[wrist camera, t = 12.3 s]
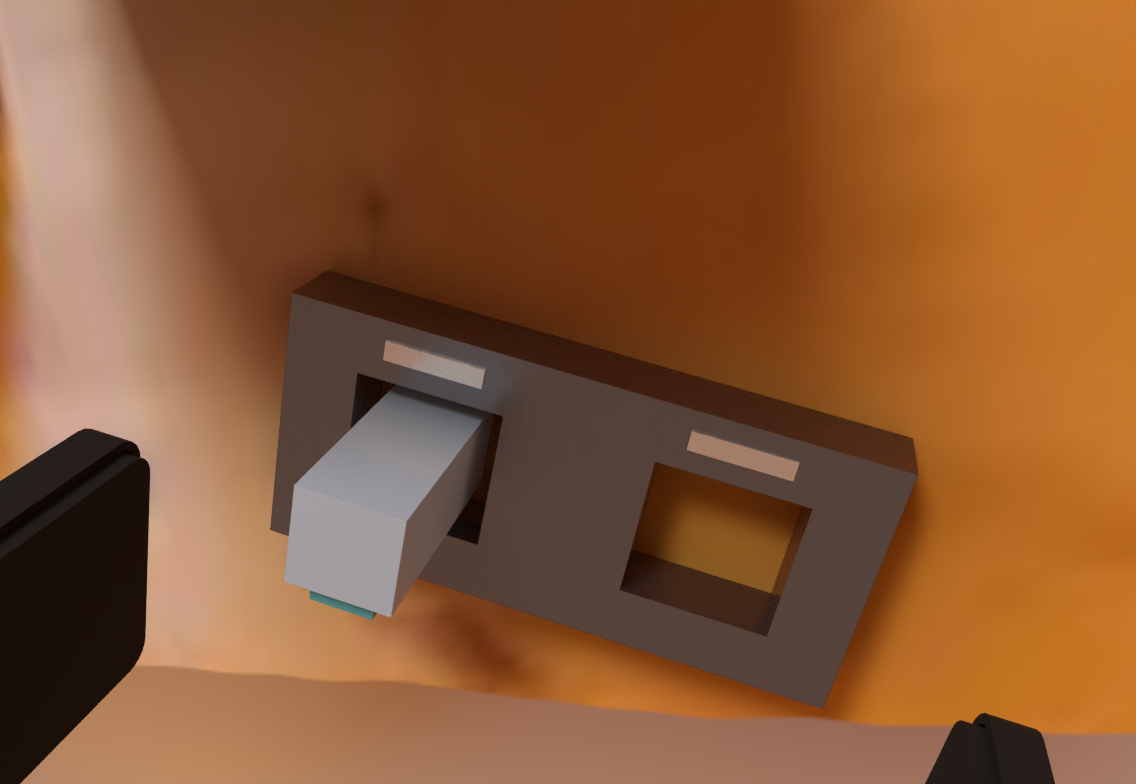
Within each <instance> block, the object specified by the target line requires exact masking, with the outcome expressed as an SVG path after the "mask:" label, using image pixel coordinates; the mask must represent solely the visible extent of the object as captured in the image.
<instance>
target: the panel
mask: <svg viewBox="0 0 1136 784" xmlns="http://www.w3.org/2000/svg"><path fill="white" fill-rule="evenodd" d="M383 381H386V382H390V383H393V384H396V385H400V386H403V387H406V388H410V389H413V390H416V391H420V392H423V393H426V394H430V395H433V396H437V397H440V398H443V399H447V400H450V401H453V402H457V403H460V404H463V405H467V406H470V407H473V408H477V409H480V410H483V411H487V412H490V413H493V414H497V415H500V416H503V420H502V425H501V430H500V435H499V440H498V445H497V450H496V455H495V460H494V465H493V471H492V476H491V481H490V486H489V491H488V496H487V501H486V505H485V504H482V503H478V502H475V501H472V500H469V501H468V503H467V504H466V506H465V507H464V509H463V510H462V512H461V513H460V515H459V516H458V518H457V519H456V521H455V522H454V524H453V525H452V527H451V528H450V530H449V531H448V533H447V534H446V536H445V537H444V539H443V540H442V542H441V543H440V545H439V546H438V548H437V549H436V551H435V552H434V554H433V555H432V557H431V558H430V560H429V561H428V563H427V564H426V566H425V567H424V569H423V570H422V572H421V573H420V575H419V576H418V578H420V579H423V580H426V581H429V582H432V583H436V584H439V585H442V586H445V587H448V588H451V589H454V590H457V591H460V592H463V593H466V594H469V595H473V596H476V597H479V598H482V599H485V600H488V601H491V602H494V603H497V604H500V605H503V606H506V607H510V608H513V609H516V610H519V611H522V612H525V613H528V614H531V615H534V616H537V617H540V618H543V619H547V620H550V621H553V622H556V623H559V624H562V625H565V626H568V627H571V628H574V629H577V630H581V631H584V632H587V633H590V634H593V635H596V636H599V637H602V638H605V639H608V640H611V641H614V642H618V643H621V644H624V645H627V646H630V647H633V648H636V649H639V650H642V651H645V652H648V653H651V654H655V655H658V656H661V657H664V658H667V659H670V660H673V661H676V662H679V663H682V664H685V665H688V666H692V667H695V668H698V669H701V670H704V671H707V672H710V673H713V674H716V675H719V676H722V677H725V678H729V679H732V680H735V681H738V682H741V683H744V684H747V685H750V686H753V687H756V688H759V689H763V690H766V691H769V692H772V693H775V694H778V695H781V696H784V697H787V698H790V699H793V700H796V701H800V702H803V703H806V704H809V705H812V706H815V707H818V708H821V709H823V707H824V705H825V702H826V700H827V697H828V695H829V692H830V690H831V687H832V685H833V683H834V680H835V678H836V675H837V673H838V670H839V668H840V665H841V663H842V660H843V658H844V656H845V653H846V651H847V648H848V646H849V643H850V641H851V638H852V636H853V634H854V631H855V629H856V626H857V624H858V621H859V619H860V616H861V614H862V612H863V609H864V607H865V604H866V602H867V599H868V597H869V594H870V592H871V589H872V587H873V585H874V582H875V580H876V577H877V575H878V572H879V570H880V567H881V565H882V563H883V560H884V558H885V555H886V553H887V550H888V548H889V545H890V543H891V541H892V538H893V536H894V533H895V531H896V528H897V526H898V523H899V521H900V518H901V516H902V514H903V511H904V509H905V506H906V504H907V501H908V499H909V496H910V494H911V492H912V489H913V487H914V484H915V482H916V479H917V477H918V470H917V463H916V456H915V449H914V443H913V439H912V438H909V437H905V436H902V435H898V434H895V433H891V432H888V431H884V430H881V429H877V428H874V427H870V426H867V425H863V424H860V423H857V422H853V421H850V420H846V419H843V418H839V417H836V416H832V415H829V414H825V413H822V412H818V411H815V410H811V409H808V408H804V407H801V406H797V405H794V404H790V403H787V402H783V401H780V400H776V399H773V398H769V397H766V396H762V395H759V394H755V393H752V392H748V391H745V390H741V389H738V388H734V387H731V386H727V385H724V384H720V383H717V382H713V381H710V380H706V379H703V378H699V377H696V376H692V375H689V374H685V373H682V372H678V371H675V370H671V369H668V368H664V367H661V366H657V365H654V364H650V363H647V362H643V361H640V360H637V359H633V358H630V357H626V356H623V355H619V354H616V353H612V352H609V351H605V350H602V349H598V348H595V347H591V346H588V345H584V344H581V343H577V342H574V341H570V340H567V339H563V338H560V337H556V336H553V335H549V334H546V333H542V332H539V331H535V330H532V329H528V328H525V327H521V326H518V325H514V324H511V323H507V322H504V321H500V320H497V319H493V318H490V317H486V316H483V315H479V314H476V313H472V312H469V311H465V310H462V309H458V308H455V307H451V306H448V305H444V304H441V303H437V302H434V301H430V300H427V299H424V298H420V297H417V296H413V295H410V294H406V293H403V292H399V291H396V290H392V289H389V288H385V287H382V286H378V285H375V284H371V283H368V282H364V281H361V280H357V279H354V278H350V277H347V276H343V275H340V274H336V273H333V272H329V271H326V272H324V273H322V274H321V275H319V276H318V277H316V278H314V279H313V280H311V281H310V282H308V283H307V284H305V285H303V286H302V287H300V288H299V289H297V290H296V291H294V292H292V297H291V308H290V319H289V330H288V341H287V352H286V363H285V374H284V385H283V396H282V407H281V418H280V429H279V440H278V451H277V462H276V473H275V484H274V495H273V506H272V517H271V528H270V530H272V531H275V532H278V533H281V534H284V535H287V536H289V529H290V520H291V511H292V501H293V492H294V485H295V484H296V483H297V482H298V481H299V480H300V479H301V478H302V477H303V476H304V475H305V474H306V473H307V472H308V471H309V470H310V469H311V468H312V467H313V466H314V465H315V464H316V463H317V462H318V461H319V460H320V459H321V458H322V457H323V456H324V455H325V454H326V453H327V452H328V451H329V450H330V449H331V448H332V447H333V446H334V445H335V444H336V443H337V442H338V441H339V440H340V439H341V438H342V437H343V436H344V435H345V434H346V433H347V432H348V431H349V430H350V429H351V428H352V427H353V426H354V425H355V424H356V423H357V422H358V421H359V420H360V419H361V418H362V417H363V416H365V415H366V414H367V413H368V412H369V411H370V410H371V409H372V408H373V407H374V406H375V405H376V404H377V403H378V402H379V401H380V397H381V390H382V383H383ZM657 463H661V464H664V465H667V466H671V467H674V468H677V469H681V470H684V471H687V472H691V473H694V474H697V475H701V476H704V477H707V478H711V479H714V480H717V481H721V482H724V483H727V484H731V485H734V486H738V487H741V488H744V489H748V490H751V491H754V492H758V493H761V494H764V495H768V496H771V497H774V498H778V499H781V500H784V501H788V502H791V503H794V504H798V505H801V506H802V509H801V512H800V515H799V517H798V520H797V523H796V526H795V529H794V531H793V534H792V537H791V540H790V543H789V545H788V548H787V551H786V554H785V557H784V559H783V562H782V565H781V568H780V571H779V573H778V576H777V579H776V582H775V585H774V587H773V590H772V593H767V592H764V591H761V590H758V589H755V588H751V587H748V586H745V585H742V584H738V583H735V582H732V581H729V580H726V579H722V578H719V577H716V576H713V575H710V574H706V573H703V572H700V571H697V570H694V569H690V568H687V567H684V566H681V565H677V564H674V563H671V562H668V561H665V560H661V559H658V558H655V557H652V556H649V555H645V554H642V553H639V552H636V551H633V549H634V545H635V542H636V538H637V534H638V531H639V527H640V524H641V520H642V516H643V513H644V509H645V506H646V502H647V498H648V495H649V491H650V488H651V484H652V480H653V477H654V473H655V470H656V466H657Z"/></svg>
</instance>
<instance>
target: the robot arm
mask: <svg viewBox="0 0 1136 784" xmlns="http://www.w3.org/2000/svg"><path fill="white" fill-rule="evenodd" d="M149 491H150V467H149V464H148V462H147V461H146V460H145V459H143V458H140V451H139V449H138V447H137V445H136V444H134V443H133V442H131V441H128V440H125V439H122V438H118V437H115V436H112V435H109V434H106V433H103V432H100V431H96V430H93V429H83V430H81V431H78V432H76V433H75V434H73V435H72V436H70V437H69V438H67V439H65V440H64V441H62V442H61V443H59V444H58V445H56V446H54V447H53V448H51V449H50V450H48V451H47V452H45V453H43V454H42V455H40V456H39V457H37V458H36V459H34V460H33V461H31V462H29V463H28V464H26V465H25V466H23V467H22V468H20V469H18V470H17V471H15V472H14V473H12V474H11V475H9V476H7V477H6V478H4V479H3V480H1V481H0V784H20V783H21V782H22V781H23V780H24V779H25V778H26V777H27V776H28V775H29V774H30V773H31V772H32V771H33V770H34V769H35V768H36V767H37V766H38V765H39V764H40V763H41V762H42V761H43V760H44V759H45V758H46V756H48V754H50V752H52V750H53V749H54V748H55V747H56V746H57V745H58V744H59V743H60V742H61V741H62V740H63V739H64V738H65V737H66V736H67V735H68V734H69V733H70V732H71V731H72V730H73V729H74V728H75V727H76V726H77V725H78V724H79V723H80V722H81V721H82V720H83V719H84V718H85V717H86V716H87V715H88V714H89V713H90V711H92V710H93V709H94V708H95V707H96V706H97V704H98V703H99V702H100V701H101V700H102V699H103V698H104V697H105V696H106V695H107V694H108V693H109V692H110V691H111V690H112V689H113V688H114V687H115V686H116V685H117V684H118V683H119V682H120V681H121V680H122V678H124V677H125V676H126V675H127V674H128V673H129V672H130V671H131V669H132V668H133V667H134V666H135V664H136V662H137V661H138V659H139V657H140V655H141V653H142V650H143V647H144V643H145V630H146V595H147V560H148V526H149ZM925 784H1055V782H1054V778H1053V774H1052V770H1051V766H1050V763H1049V758H1048V755H1047V750H1046V747H1045V743H1044V739H1043V737H1042V735H1041V733H1040V732H1039V731H1038V730H1036V729H1033V728H1030V727H1027V726H1024V725H1021V724H1018V723H1014V722H1011V721H1008V720H1005V719H1002V718H999V717H996V716H992V715H989V714H986V713H983V714H980V715H979V716H978V717H977V718H976V719H975V720H974V722H973V724H971V723H968V722H965V721H962V720H960V721H958V722H957V723H955V725H954V726H953V728H952V730H951V732H950V734H949V736H948V738H947V740H946V742H945V744H944V746H943V748H942V750H941V753H940V754H939V756H938V759H937V761H936V763H935V765H934V767H933V769H932V771H931V773H930V775H929V777H928V779H927V781H926V783H925Z"/></svg>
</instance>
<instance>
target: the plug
mask: <svg viewBox="0 0 1136 784" xmlns="http://www.w3.org/2000/svg"><path fill="white" fill-rule="evenodd" d="M494 416H495V414H493V413H490V412H487V411H483V410H480V409H477V408H473V407H470V406H467V405H463V404H460V403H457V402H453V401H450V400H447V399H443V398H440V397H437V396H433V395H430V394H426V393H423V392H420V391H416V390H413V389H410V388H406V387H403V386H400V385H395V386H394V387H393V388H392V389H391V390H390V391H389V392H388V393H387V394H386V395H385V396H384V397H383V398H382V399H381V400H380V401H379V402H378V403H377V404H376V405H375V406H374V407H373V408H372V409H371V410H370V411H369V412H368V413H367V414H366V415H365V416H363V417H362V418H361V419H360V420H359V421H358V422H357V423H356V424H355V425H354V426H353V427H352V428H351V429H350V430H349V431H348V432H347V433H346V434H345V435H344V436H343V437H342V438H341V439H340V440H339V441H338V442H337V443H336V444H335V445H334V446H333V447H332V448H331V449H330V450H329V451H328V452H327V453H326V454H325V455H324V456H323V457H322V458H321V459H320V460H319V461H318V462H317V463H316V464H315V465H314V466H313V467H312V468H311V469H310V470H309V471H308V472H307V473H306V474H305V475H304V476H303V477H302V478H301V479H300V480H299V481H298V482H297V483H296V484H295V485H294V492H293V501H292V511H291V520H290V529H289V539H288V548H287V558H286V567H285V577H284V582H287V583H290V584H293V585H296V586H299V587H302V588H305V589H308V590H310V599H312V600H314V601H317V602H320V603H323V604H326V605H329V606H332V607H335V608H338V609H341V610H344V611H347V612H350V613H353V614H356V615H359V616H362V617H365V618H368V619H371V620H373V618H374V617H375V615H376V614H377V613H379V614H382V615H385V616H388V617H391V616H392V615H393V613H394V612H395V610H396V609H397V607H398V606H399V604H400V603H401V601H402V600H403V598H404V597H405V595H406V594H407V592H408V591H409V589H410V588H411V587H412V585H413V584H414V582H415V581H416V579H417V578H418V576H419V575H420V573H421V572H422V570H423V569H424V567H425V566H426V564H427V563H428V561H429V560H430V558H431V557H432V555H433V554H434V552H435V551H436V549H437V548H438V546H439V545H440V543H441V542H442V540H443V539H444V537H445V536H446V534H447V533H448V531H449V530H450V528H451V527H452V525H453V524H454V522H455V521H456V519H457V518H458V516H459V515H460V513H461V512H462V510H463V509H464V507H465V506H466V504H467V503H468V501H469V500H470V498H471V497H472V495H473V494H474V492H475V491H476V489H477V488H478V486H479V485H480V483H481V481H482V476H483V471H484V466H485V461H486V456H487V451H488V446H489V441H490V436H491V431H492V426H493V421H494Z"/></svg>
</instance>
